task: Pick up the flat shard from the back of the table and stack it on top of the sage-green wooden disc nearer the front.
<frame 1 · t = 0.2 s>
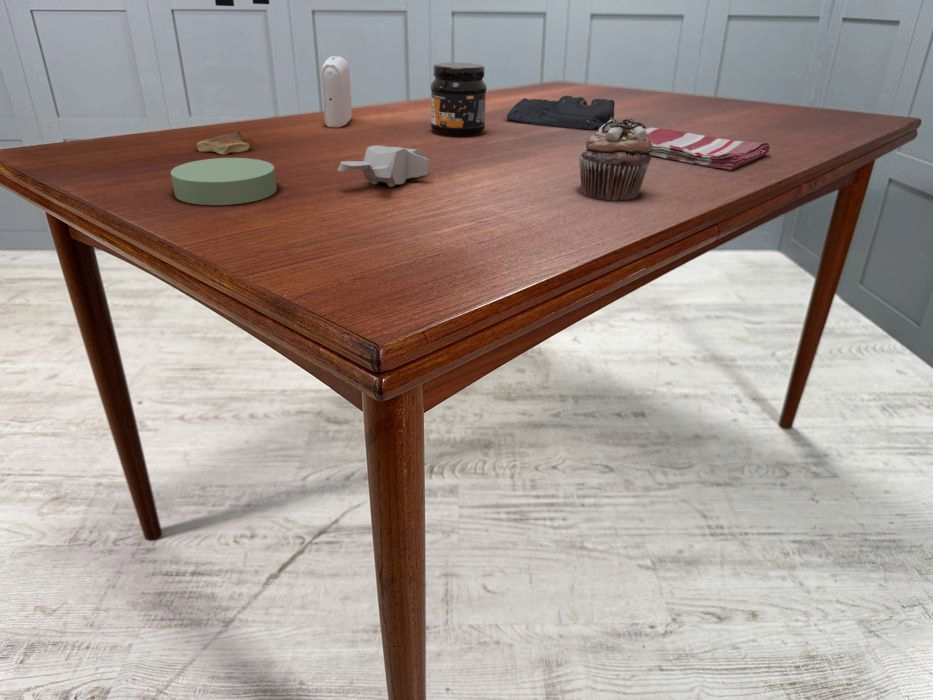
hand: (244, 5, 110), 21 cm above the table, tool pointing down, fingers open, 13 cm apart
dish towel: (686, 152, 119), on the table
disc: (226, 191, 89), on the table
shard: (222, 149, 113), on the table
cupcake: (609, 194, 94), on the table
dark slate chunk: (560, 121, 143), on the table
supplement container: (457, 133, 129), on the table
photo printer: (339, 124, 134), on the table
grey faceted piece: (389, 184, 95), on the table
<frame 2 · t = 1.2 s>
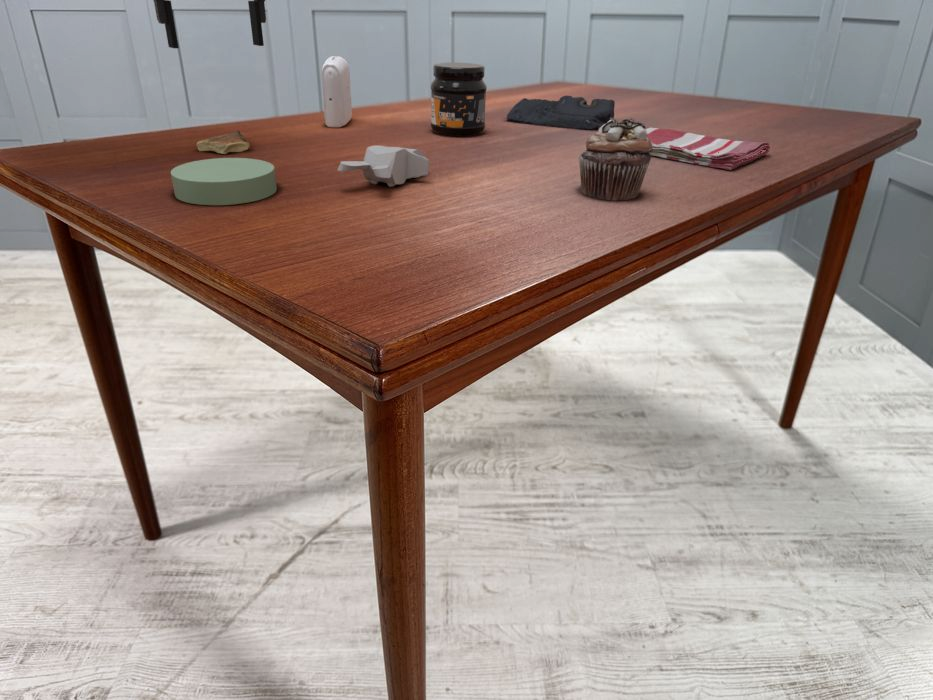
hand: (217, 46, 107), 15 cm above the table, tool pointing down, fingers open, 13 cm apart
nothing on the table moved.
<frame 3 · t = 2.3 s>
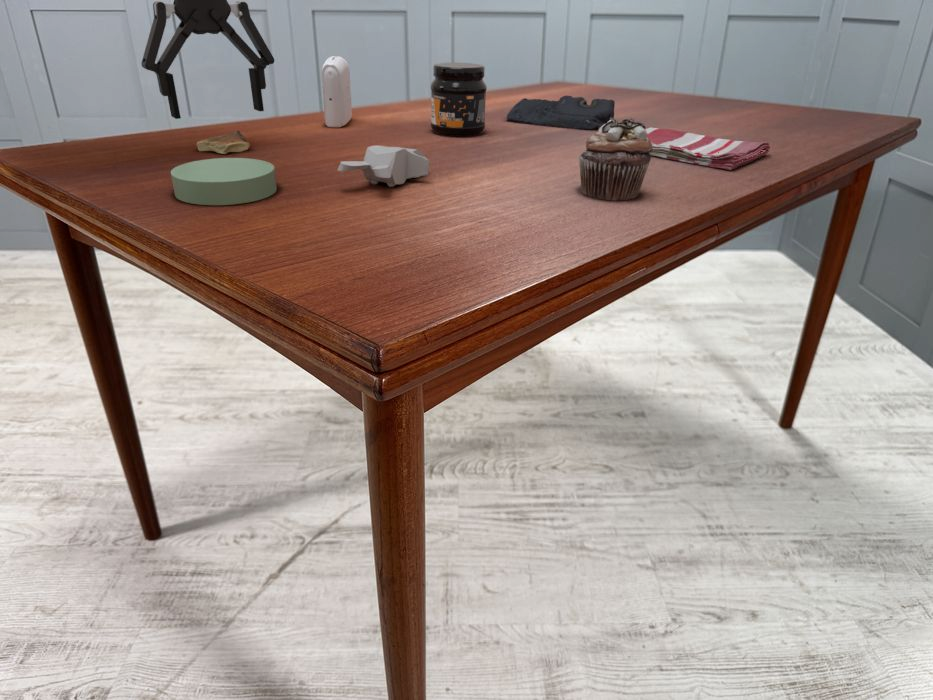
hand: (218, 113, 110), 5 cm above the table, tool pointing down, fingers open, 13 cm apart
nothing on the table moved.
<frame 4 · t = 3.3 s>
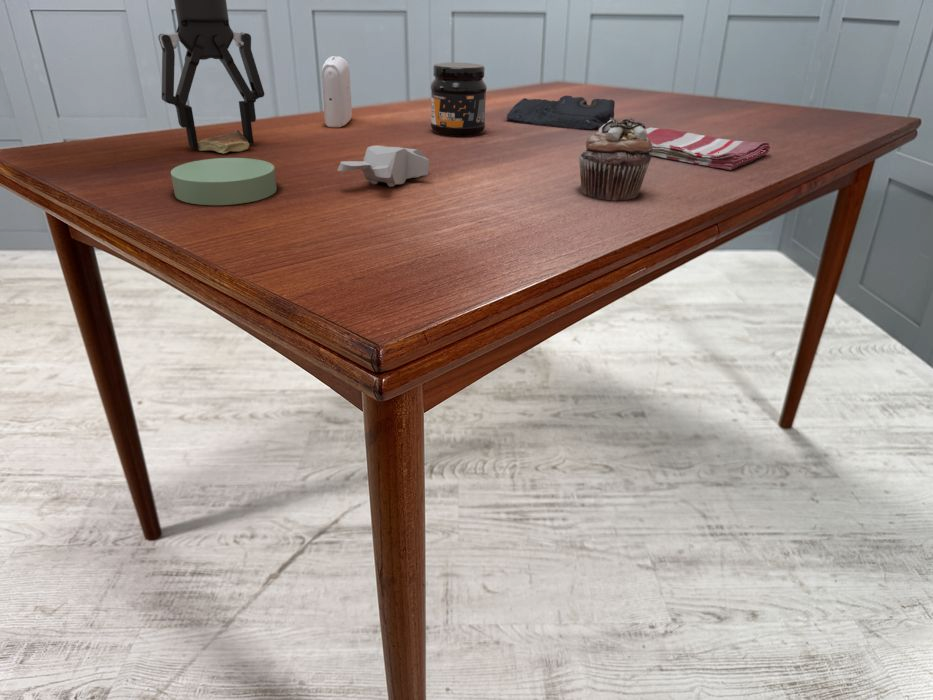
hand: (221, 144, 112), 0 cm above the table, tool pointing down, fingers closed on shard, 8 cm apart
shard: (222, 148, 113), on the table, touching gripper
everything else where it was.
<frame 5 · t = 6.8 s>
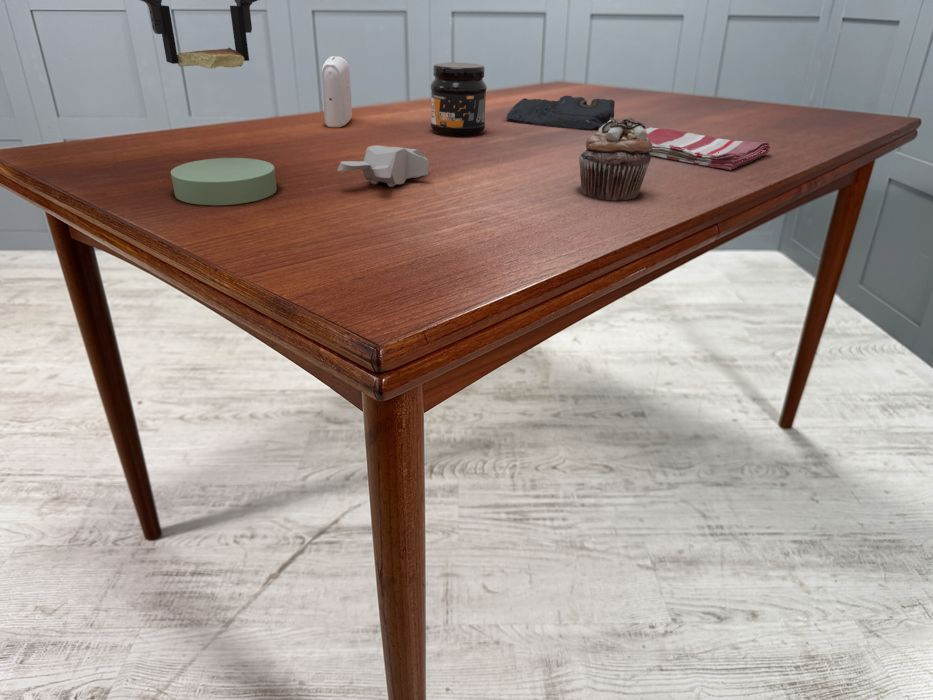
hand: (208, 61, 88), 15 cm above the table, tool pointing down, fingers closed on shard, 8 cm apart
shard: (209, 66, 88), point 15 cm above the table, touching gripper
everything else where it was.
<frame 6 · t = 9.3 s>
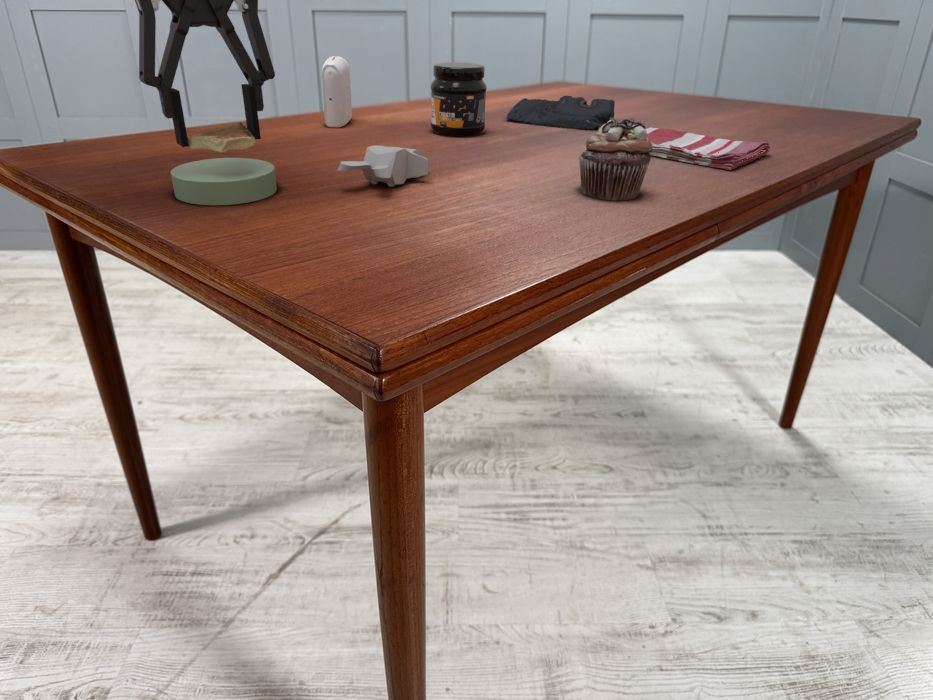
hand: (219, 140, 86), 7 cm above the table, tool pointing down, fingers closed on shard, 8 cm apart
shard: (220, 145, 87), point 6 cm above the table, touching gripper
everything else where it was.
when the fingers open (3 cm above the table, at t = 10.6 s): shard stays where it is, resting on disc.
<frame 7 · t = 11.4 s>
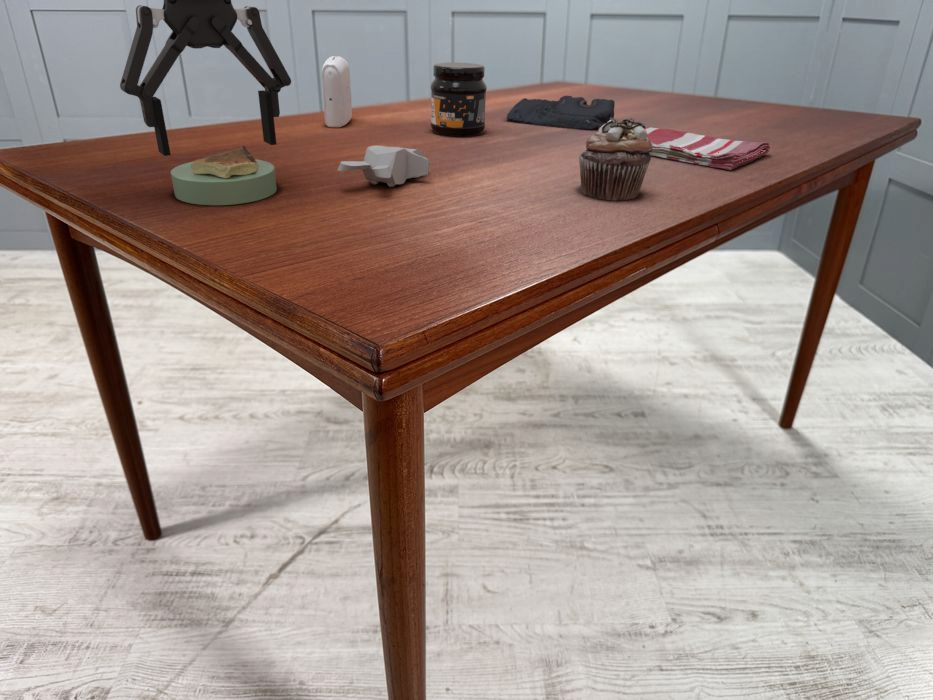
hand: (219, 148, 87), 6 cm above the table, tool pointing down, fingers open, 13 cm apart
disc: (226, 191, 89), on the table, touching shard
shard: (223, 170, 88), point 3 cm above the table, touching disc
everything else where it was.
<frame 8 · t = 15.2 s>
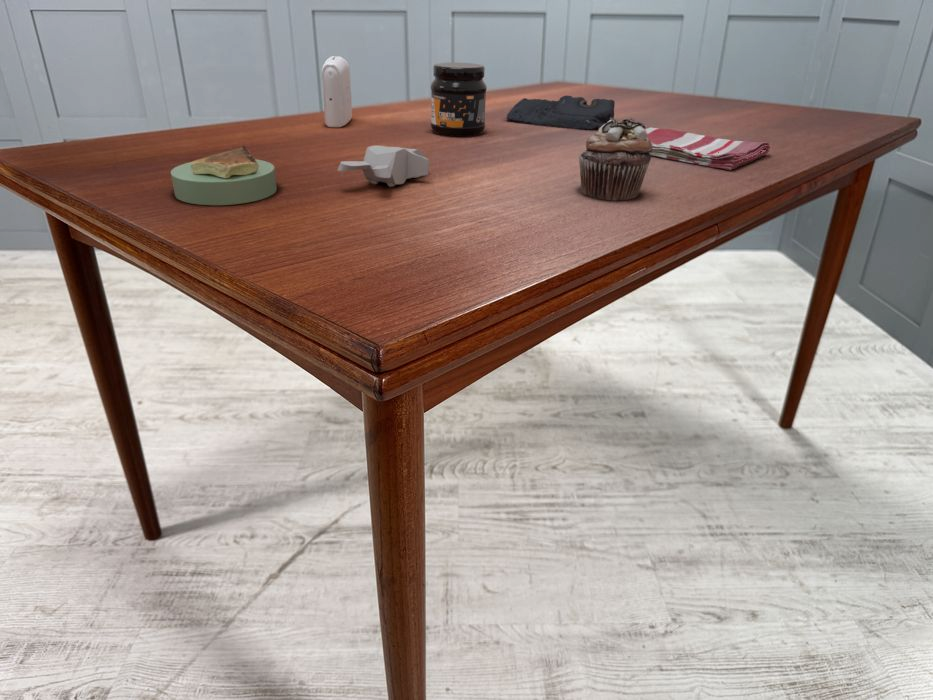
nothing on the table moved.
at the end: shard inside the target area on the disc (0.0 cm from its centre), point 2.8 cm above the disc's base; shard touching disc; the gripper is holding nothing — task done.
